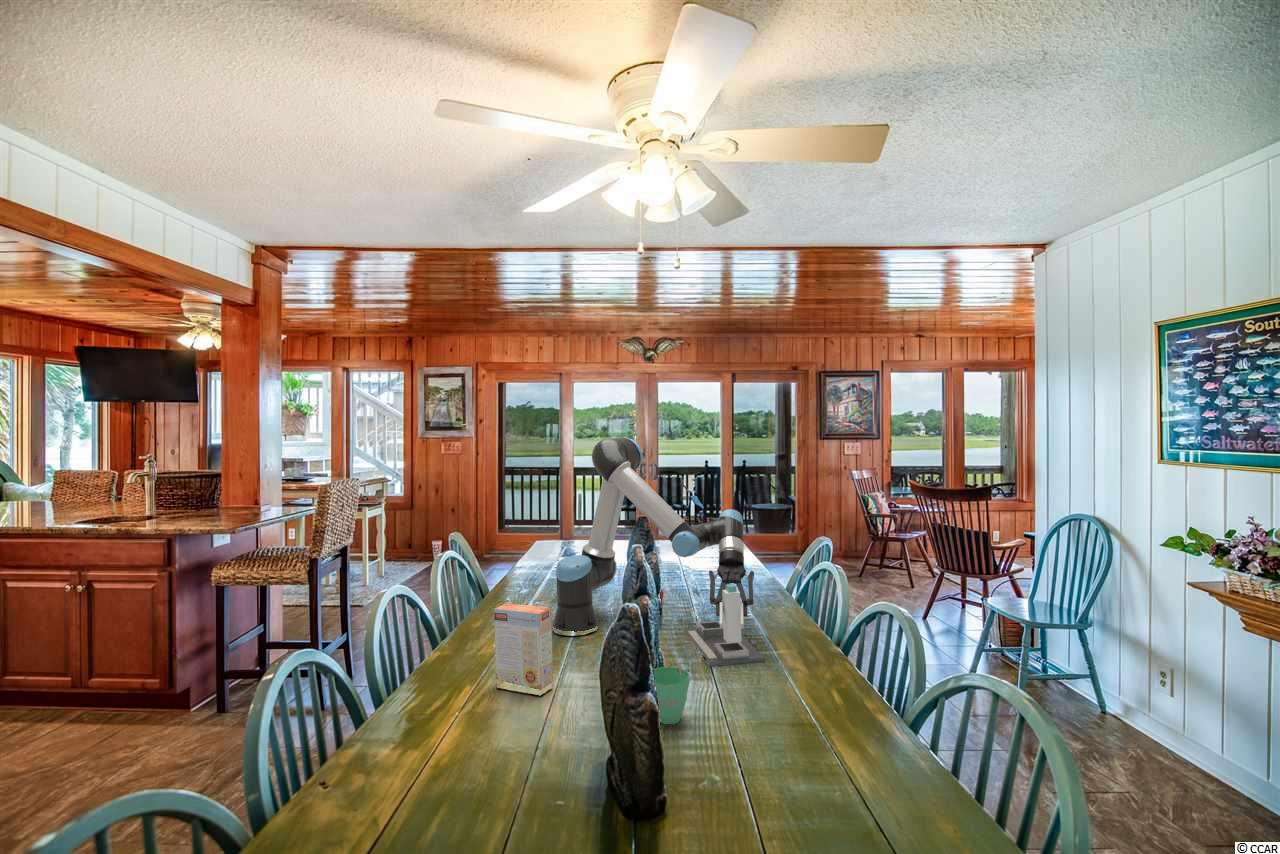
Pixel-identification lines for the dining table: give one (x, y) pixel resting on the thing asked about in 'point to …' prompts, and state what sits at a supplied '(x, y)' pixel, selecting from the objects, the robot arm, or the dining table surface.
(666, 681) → the green cup
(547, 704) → the dining table surface
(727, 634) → the plug
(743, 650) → the panel
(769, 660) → the dining table surface
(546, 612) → the cracker box
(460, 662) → the dining table surface
